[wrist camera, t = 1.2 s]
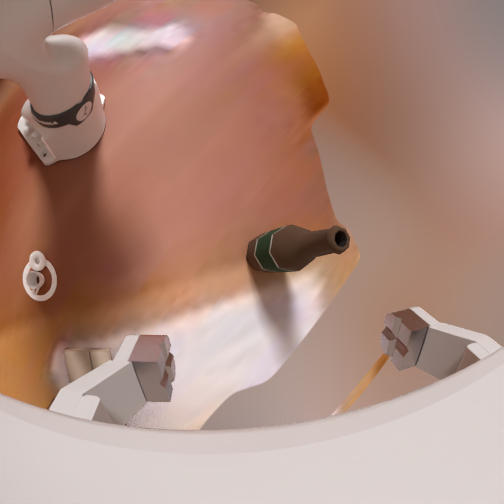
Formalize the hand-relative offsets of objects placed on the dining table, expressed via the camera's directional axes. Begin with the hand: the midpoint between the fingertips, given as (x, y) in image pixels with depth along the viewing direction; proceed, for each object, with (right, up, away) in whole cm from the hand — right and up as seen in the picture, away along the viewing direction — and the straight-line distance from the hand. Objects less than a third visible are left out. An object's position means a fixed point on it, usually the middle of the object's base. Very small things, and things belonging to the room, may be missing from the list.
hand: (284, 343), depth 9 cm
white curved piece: (-38, 0, +30) cm, 49 cm away
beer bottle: (+1, +3, +46) cm, 46 cm away
